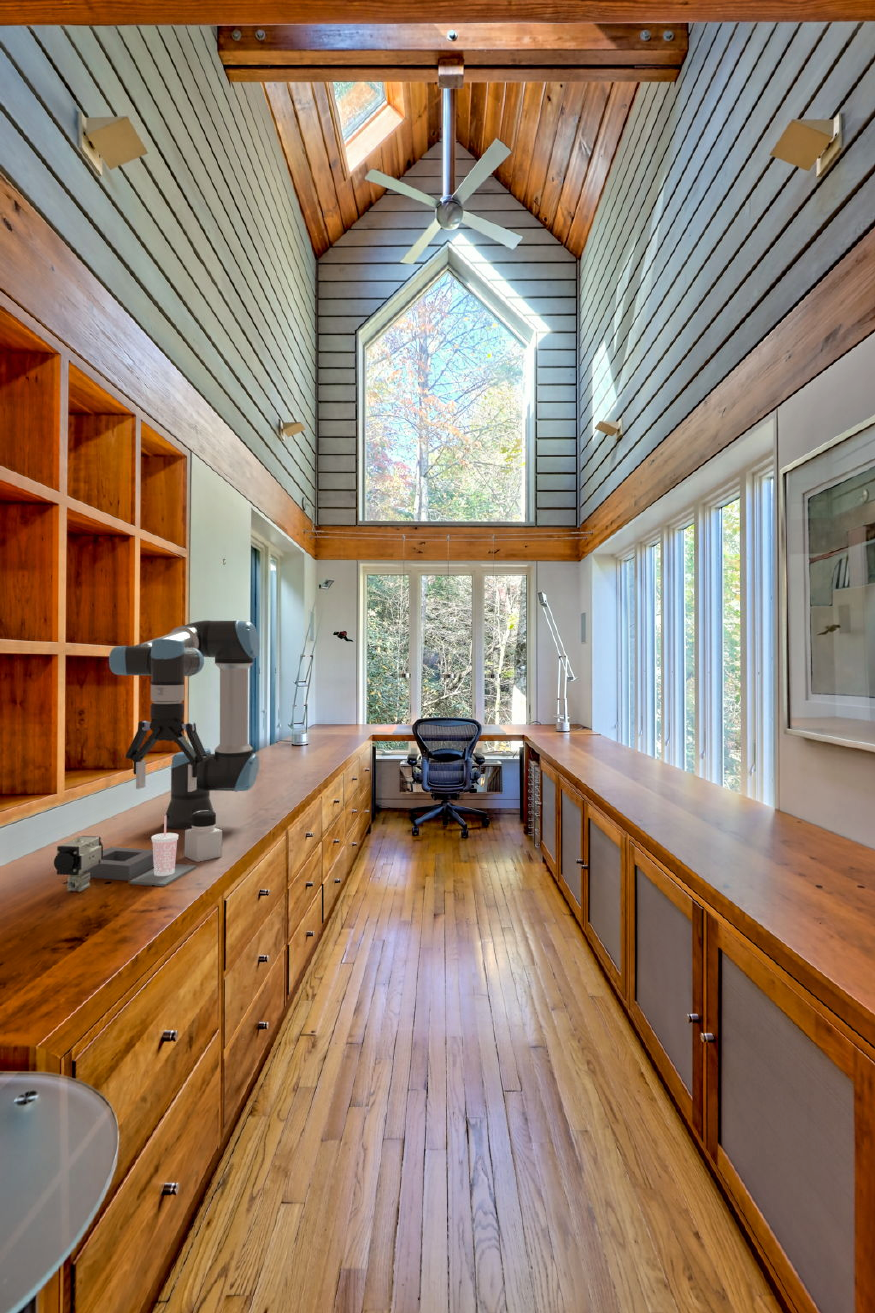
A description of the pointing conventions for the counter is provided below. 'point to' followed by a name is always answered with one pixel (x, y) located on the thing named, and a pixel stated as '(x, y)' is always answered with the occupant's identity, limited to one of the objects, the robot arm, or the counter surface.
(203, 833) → the medicine bottle
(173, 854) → the beverage cup
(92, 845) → the pneumatic valve
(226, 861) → the counter surface
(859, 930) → the counter surface
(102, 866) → the socket block
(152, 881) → the rubber mat
